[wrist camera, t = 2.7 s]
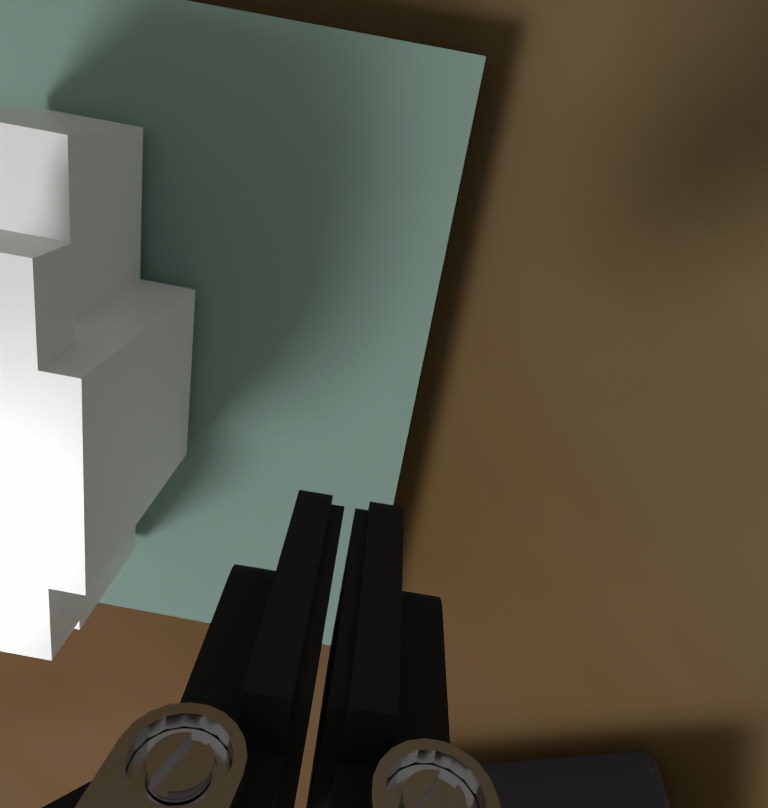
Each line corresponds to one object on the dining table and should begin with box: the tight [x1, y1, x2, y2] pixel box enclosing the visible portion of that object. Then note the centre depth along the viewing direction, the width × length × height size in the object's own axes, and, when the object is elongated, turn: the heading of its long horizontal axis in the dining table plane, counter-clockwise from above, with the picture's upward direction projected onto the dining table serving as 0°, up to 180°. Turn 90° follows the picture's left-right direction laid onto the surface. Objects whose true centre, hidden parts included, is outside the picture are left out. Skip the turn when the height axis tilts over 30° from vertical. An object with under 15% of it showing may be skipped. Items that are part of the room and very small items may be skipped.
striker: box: [0, 107, 196, 661], centre depth 14 cm, size 4×11×6 cm, turn 171°
